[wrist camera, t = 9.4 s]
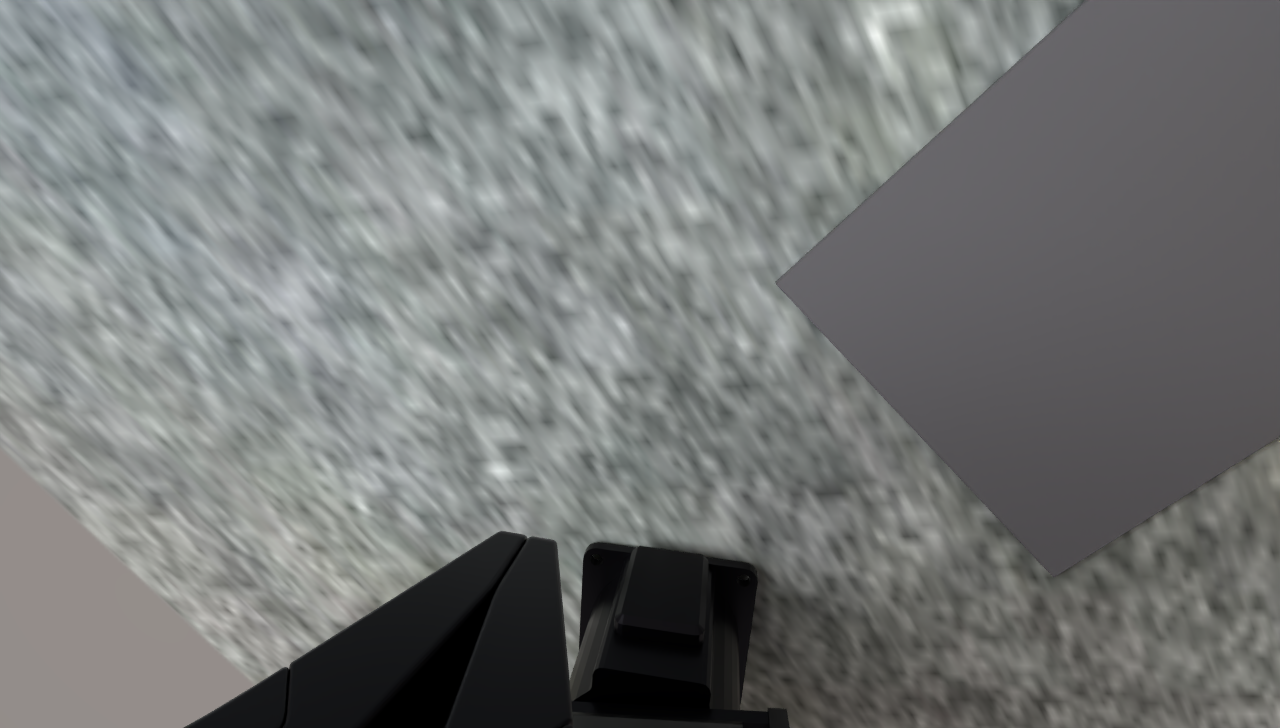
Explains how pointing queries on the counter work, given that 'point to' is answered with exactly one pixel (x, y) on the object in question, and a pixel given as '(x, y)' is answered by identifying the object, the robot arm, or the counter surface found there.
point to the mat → (1081, 272)
